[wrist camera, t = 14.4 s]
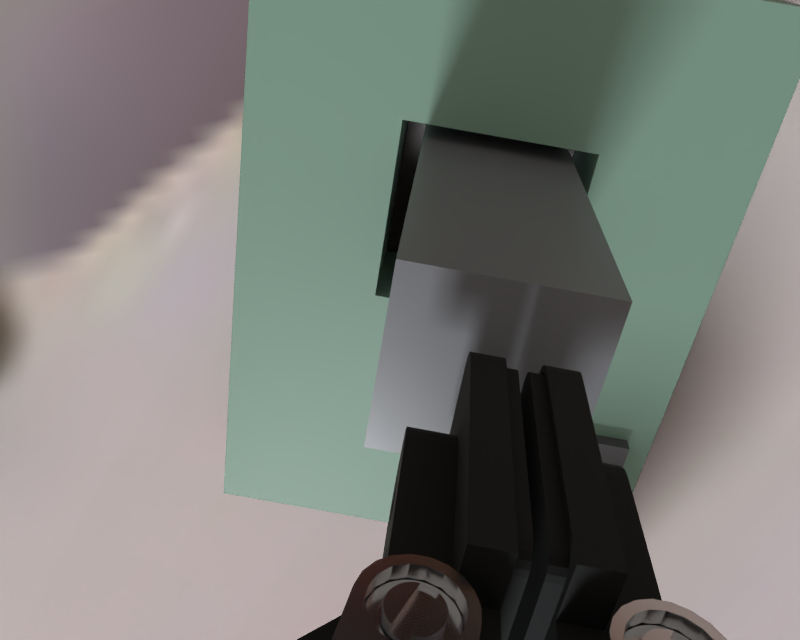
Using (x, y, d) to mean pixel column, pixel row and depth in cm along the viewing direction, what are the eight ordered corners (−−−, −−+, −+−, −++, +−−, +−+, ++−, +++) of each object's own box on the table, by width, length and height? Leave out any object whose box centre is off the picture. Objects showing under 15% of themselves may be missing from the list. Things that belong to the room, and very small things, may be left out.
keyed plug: (561, 134, 20) (632, 301, 11) (519, 291, 22) (551, 534, 13) (429, 110, 20) (395, 259, 11) (401, 270, 22) (354, 498, 13)
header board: (774, -2, 18) (835, 13, 15) (591, 495, 26) (607, 570, 23) (285, -89, 18) (248, -91, 15) (249, 434, 26) (219, 501, 23)
